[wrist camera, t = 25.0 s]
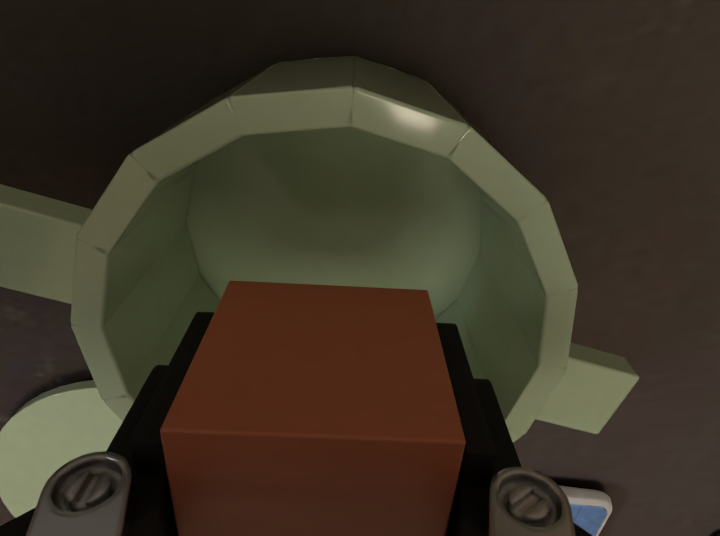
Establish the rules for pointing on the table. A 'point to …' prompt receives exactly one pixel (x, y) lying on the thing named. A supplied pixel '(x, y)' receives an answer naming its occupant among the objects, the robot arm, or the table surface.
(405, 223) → the light green round pot
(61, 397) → the lid
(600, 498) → the tablet
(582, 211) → the table surface
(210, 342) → the block
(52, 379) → the table surface
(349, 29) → the table surface
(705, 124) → the table surface
